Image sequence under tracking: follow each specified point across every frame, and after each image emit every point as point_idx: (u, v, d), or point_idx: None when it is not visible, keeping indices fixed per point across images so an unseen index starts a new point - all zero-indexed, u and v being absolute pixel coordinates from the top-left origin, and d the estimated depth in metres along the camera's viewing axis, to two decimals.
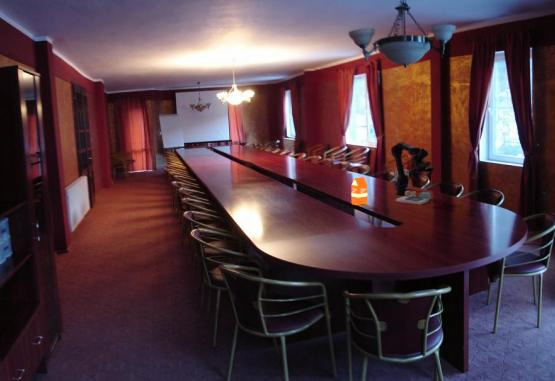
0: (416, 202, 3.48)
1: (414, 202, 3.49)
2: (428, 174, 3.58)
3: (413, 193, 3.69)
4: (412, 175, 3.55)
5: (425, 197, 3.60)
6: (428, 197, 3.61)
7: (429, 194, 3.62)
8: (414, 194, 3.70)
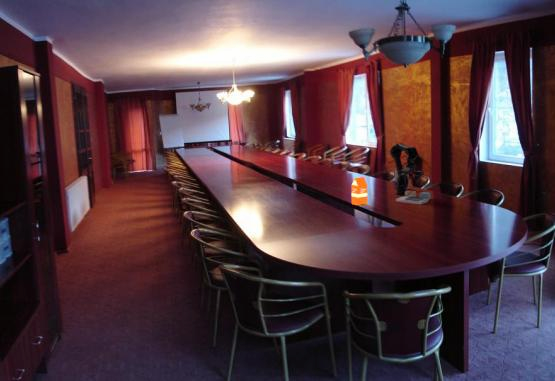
0: (416, 202, 3.48)
1: (414, 202, 3.49)
2: None
3: (413, 193, 3.69)
4: None
5: (425, 197, 3.60)
6: (428, 197, 3.61)
7: (429, 194, 3.62)
8: (414, 194, 3.70)
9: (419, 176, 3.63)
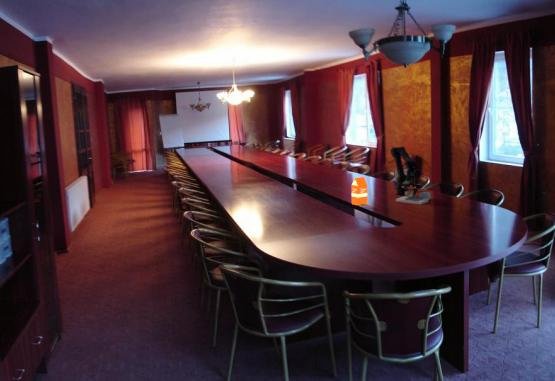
0: (416, 202, 3.48)
1: (414, 202, 3.49)
2: None
3: (413, 193, 3.69)
4: None
5: (425, 197, 3.60)
6: (428, 197, 3.61)
7: (429, 194, 3.62)
8: None
9: (417, 189, 3.65)
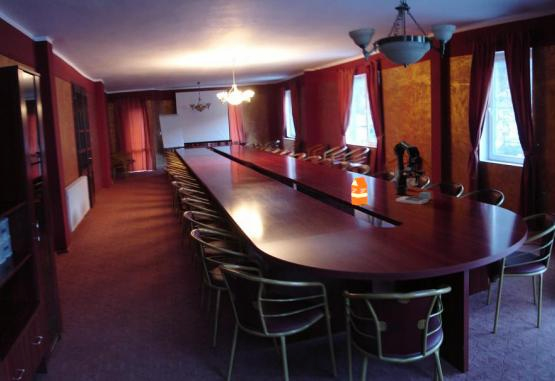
0: (416, 202, 3.48)
1: (414, 202, 3.49)
2: None
3: (415, 180, 3.61)
4: None
5: (425, 197, 3.60)
6: (428, 197, 3.61)
7: (429, 194, 3.62)
8: None
9: (419, 176, 3.57)
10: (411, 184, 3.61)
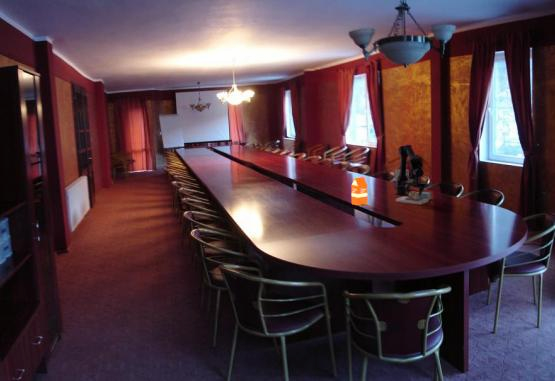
0: (416, 202, 3.48)
1: (414, 202, 3.49)
2: None
3: (417, 194, 3.52)
4: None
5: (425, 197, 3.60)
6: (428, 197, 3.61)
7: (429, 194, 3.62)
8: (418, 195, 3.54)
9: (423, 188, 3.48)
10: (413, 198, 3.53)
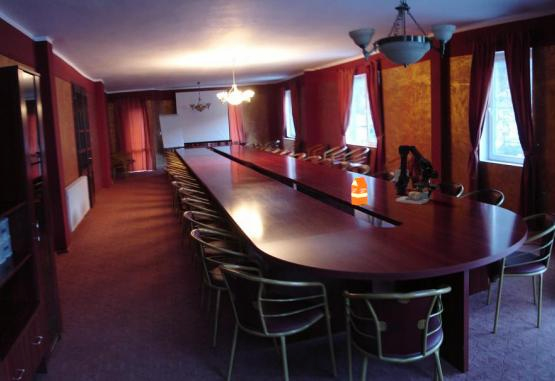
0: (416, 202, 3.48)
1: (414, 202, 3.49)
2: None
3: (417, 194, 3.52)
4: None
5: (425, 197, 3.60)
6: None
7: None
8: (418, 195, 3.54)
9: (432, 190, 3.57)
10: (413, 198, 3.53)
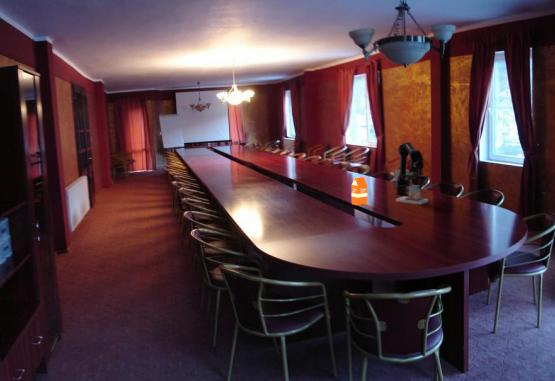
0: (416, 202, 3.48)
1: (414, 202, 3.49)
2: None
3: (417, 194, 3.52)
4: None
5: (414, 190, 3.51)
6: (418, 190, 3.52)
7: None
8: (418, 195, 3.54)
9: (423, 181, 3.47)
10: (413, 198, 3.53)
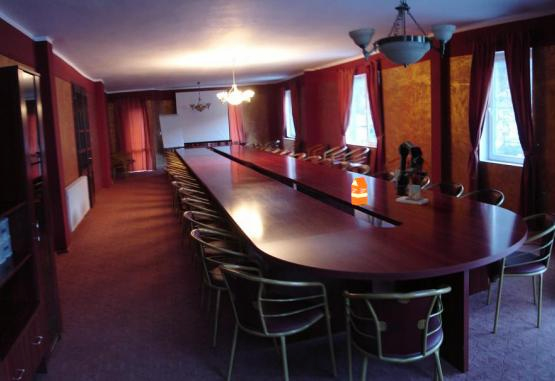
0: (416, 202, 3.48)
1: (414, 202, 3.49)
2: None
3: (417, 194, 3.52)
4: None
5: (414, 190, 3.51)
6: (418, 190, 3.52)
7: (419, 187, 3.53)
8: (418, 195, 3.54)
9: (424, 177, 3.46)
10: (413, 198, 3.53)
